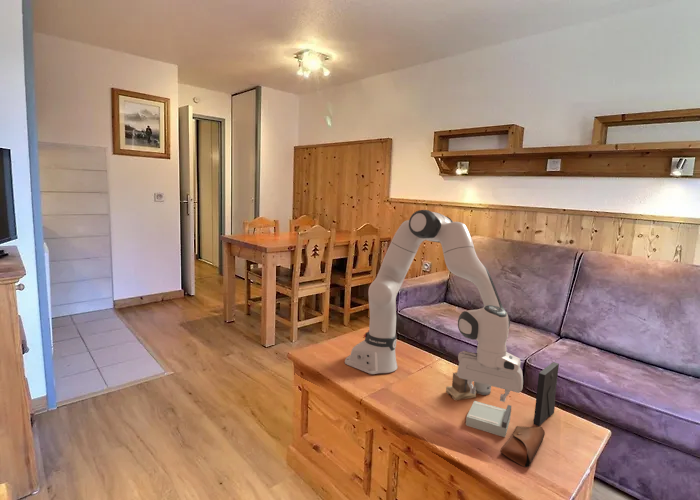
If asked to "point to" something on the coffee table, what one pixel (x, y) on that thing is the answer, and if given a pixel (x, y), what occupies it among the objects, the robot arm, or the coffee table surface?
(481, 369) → the robot arm
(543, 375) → the picture frame
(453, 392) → the pallet
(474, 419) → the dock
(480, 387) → the travel mug
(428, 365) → the coffee table surface
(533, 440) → the sunglasses case
